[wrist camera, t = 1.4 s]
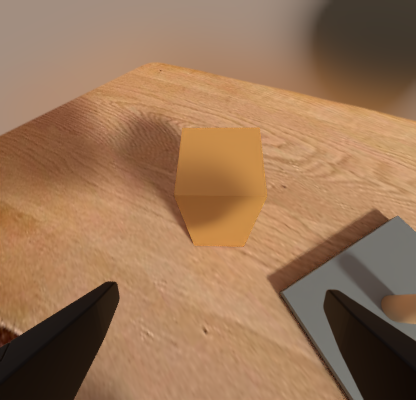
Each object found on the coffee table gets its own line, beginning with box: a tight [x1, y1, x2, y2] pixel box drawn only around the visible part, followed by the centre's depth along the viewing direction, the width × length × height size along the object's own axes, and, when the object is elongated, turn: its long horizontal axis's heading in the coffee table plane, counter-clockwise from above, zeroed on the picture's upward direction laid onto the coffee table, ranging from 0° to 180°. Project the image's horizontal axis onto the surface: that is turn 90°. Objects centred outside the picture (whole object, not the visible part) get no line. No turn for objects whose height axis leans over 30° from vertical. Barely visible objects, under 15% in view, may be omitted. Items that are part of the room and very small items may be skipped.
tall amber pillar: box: [174, 128, 267, 247], centre depth 19 cm, size 6×6×12 cm
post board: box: [280, 216, 416, 400], centre depth 17 cm, size 16×12×4 cm
